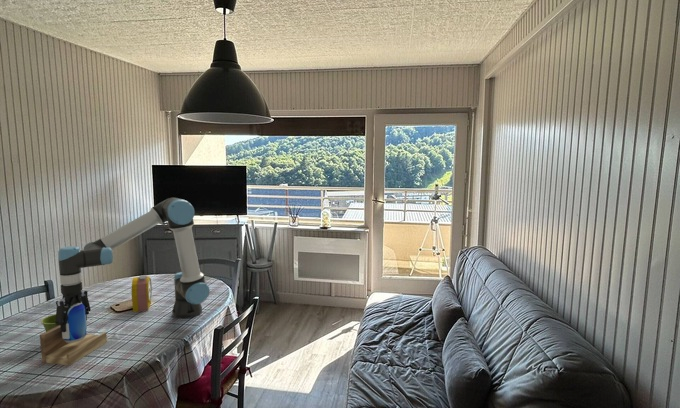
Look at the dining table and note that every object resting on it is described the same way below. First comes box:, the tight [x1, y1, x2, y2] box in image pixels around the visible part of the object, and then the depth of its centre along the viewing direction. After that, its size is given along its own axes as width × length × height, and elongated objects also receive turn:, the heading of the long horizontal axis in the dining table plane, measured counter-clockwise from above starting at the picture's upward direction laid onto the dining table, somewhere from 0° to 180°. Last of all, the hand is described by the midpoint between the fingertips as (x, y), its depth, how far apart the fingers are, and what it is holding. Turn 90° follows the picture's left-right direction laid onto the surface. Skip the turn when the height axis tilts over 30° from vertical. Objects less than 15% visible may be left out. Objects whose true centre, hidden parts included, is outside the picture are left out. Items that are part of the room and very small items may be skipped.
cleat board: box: [39, 325, 108, 366], centre depth 165 cm, size 13×20×12 cm, turn 171°
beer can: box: [63, 302, 88, 343], centre depth 164 cm, size 8×8×16 cm
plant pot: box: [40, 313, 59, 332], centre depth 174 cm, size 12×12×11 cm
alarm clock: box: [131, 274, 153, 313], centre depth 214 cm, size 15×8×18 cm, turn 20°
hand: (75, 333), depth 165 cm, fingers closed on beer can, 8 cm apart
